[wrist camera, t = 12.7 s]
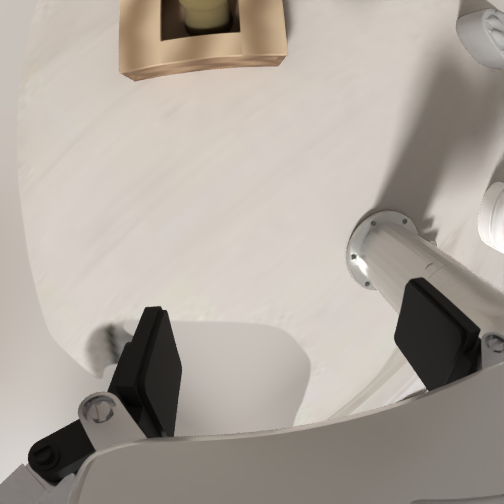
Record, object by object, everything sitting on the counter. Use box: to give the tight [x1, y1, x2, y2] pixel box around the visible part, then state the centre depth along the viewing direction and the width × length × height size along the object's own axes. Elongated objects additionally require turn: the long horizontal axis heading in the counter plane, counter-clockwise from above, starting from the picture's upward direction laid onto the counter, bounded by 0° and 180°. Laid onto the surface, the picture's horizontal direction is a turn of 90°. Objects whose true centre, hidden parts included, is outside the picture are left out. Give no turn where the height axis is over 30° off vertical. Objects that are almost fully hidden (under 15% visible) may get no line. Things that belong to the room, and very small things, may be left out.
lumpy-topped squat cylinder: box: [456, 8, 504, 69], centre depth 24 cm, size 10×13×9 cm
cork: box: [179, 0, 233, 37], centre depth 22 cm, size 6×6×11 cm
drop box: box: [119, 0, 288, 81], centre depth 25 cm, size 18×14×6 cm
